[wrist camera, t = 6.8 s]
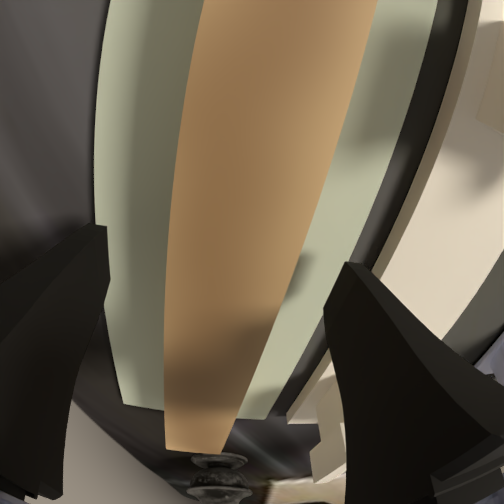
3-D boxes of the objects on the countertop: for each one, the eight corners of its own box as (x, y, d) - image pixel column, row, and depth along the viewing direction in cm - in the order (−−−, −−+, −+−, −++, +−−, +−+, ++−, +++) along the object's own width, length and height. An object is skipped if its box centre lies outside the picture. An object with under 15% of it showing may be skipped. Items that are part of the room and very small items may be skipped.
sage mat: (441, -68, 5) (449, -71, 4) (264, 412, 19) (264, 419, 19) (163, -137, 3) (160, -144, 3) (125, 397, 18) (123, 403, 17)
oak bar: (360, -95, 4) (403, -131, 2) (220, 410, 18) (219, 454, 15) (255, -121, 4) (263, -172, 1) (170, 404, 17) (166, 449, 15)
